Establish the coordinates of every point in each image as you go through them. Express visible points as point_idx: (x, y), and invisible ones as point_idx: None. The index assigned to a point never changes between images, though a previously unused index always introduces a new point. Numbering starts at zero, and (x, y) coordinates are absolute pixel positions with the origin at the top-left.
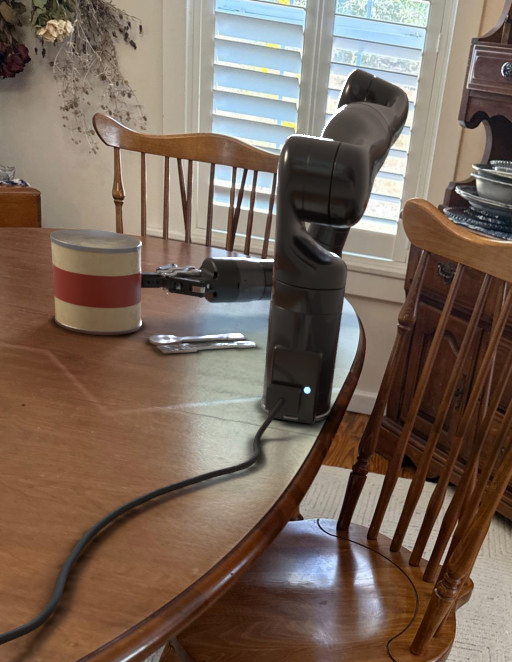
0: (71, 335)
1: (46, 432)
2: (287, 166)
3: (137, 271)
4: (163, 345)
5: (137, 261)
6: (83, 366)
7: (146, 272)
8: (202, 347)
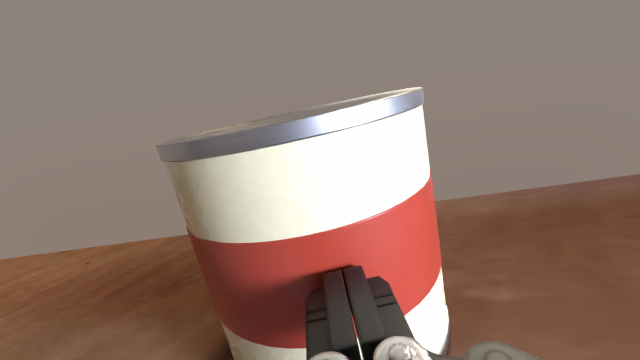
0: None
1: (21, 278)
2: None
3: (202, 234)
4: None
5: (189, 200)
6: (130, 298)
7: (361, 293)
8: None
